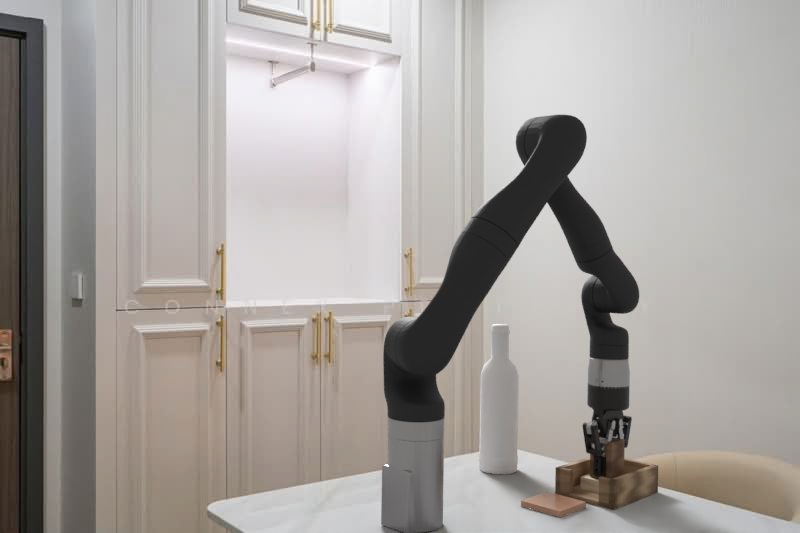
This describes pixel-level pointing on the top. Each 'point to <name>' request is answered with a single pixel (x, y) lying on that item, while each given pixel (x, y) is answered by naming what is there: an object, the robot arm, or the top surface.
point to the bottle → (499, 407)
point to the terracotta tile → (553, 504)
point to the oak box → (607, 483)
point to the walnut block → (612, 459)
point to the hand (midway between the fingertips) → (606, 473)
